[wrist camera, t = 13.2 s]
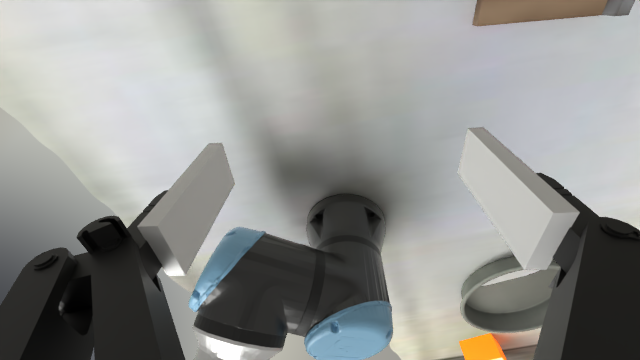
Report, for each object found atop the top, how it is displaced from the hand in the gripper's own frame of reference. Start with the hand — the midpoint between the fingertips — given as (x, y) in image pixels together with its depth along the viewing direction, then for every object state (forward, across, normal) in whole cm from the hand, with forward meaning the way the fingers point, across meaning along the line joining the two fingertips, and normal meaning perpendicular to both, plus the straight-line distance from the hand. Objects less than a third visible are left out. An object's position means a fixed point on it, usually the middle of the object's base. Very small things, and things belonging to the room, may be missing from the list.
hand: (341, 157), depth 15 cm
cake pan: (+27, -37, +51) cm, 69 cm away
